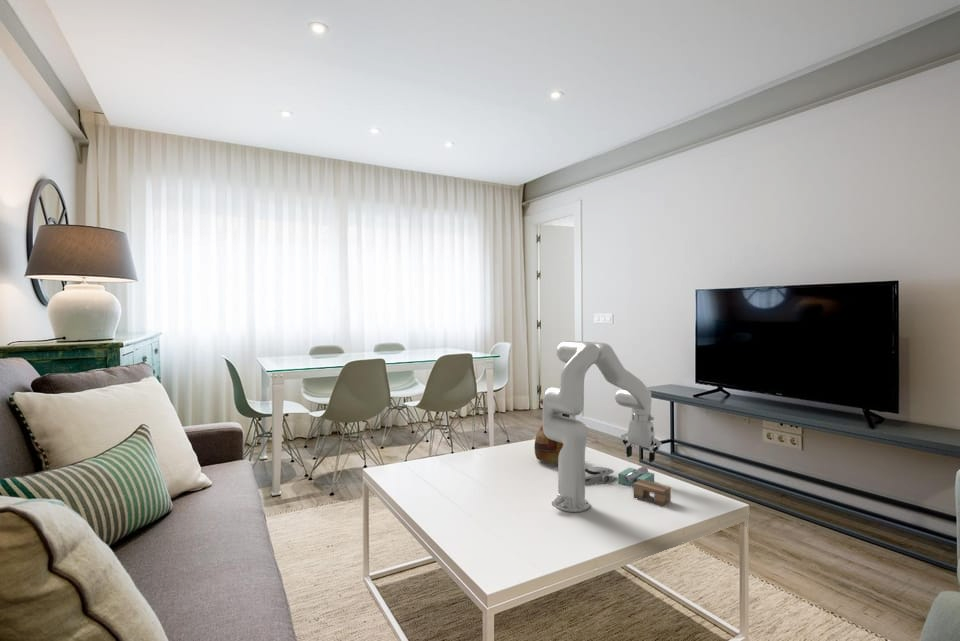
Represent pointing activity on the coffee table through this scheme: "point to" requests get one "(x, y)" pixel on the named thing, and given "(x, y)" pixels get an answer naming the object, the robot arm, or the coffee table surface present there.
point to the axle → (636, 474)
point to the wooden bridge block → (660, 492)
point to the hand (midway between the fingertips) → (640, 458)
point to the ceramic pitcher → (547, 446)
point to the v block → (646, 477)
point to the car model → (597, 475)
